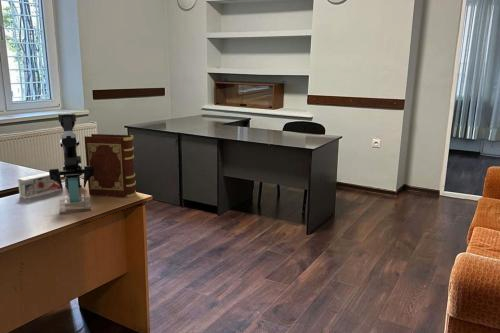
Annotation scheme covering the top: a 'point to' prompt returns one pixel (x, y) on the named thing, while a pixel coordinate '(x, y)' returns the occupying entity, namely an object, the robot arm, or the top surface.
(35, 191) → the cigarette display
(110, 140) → the decorative book
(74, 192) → the teal rectangular block
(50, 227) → the top surface
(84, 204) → the book stand
